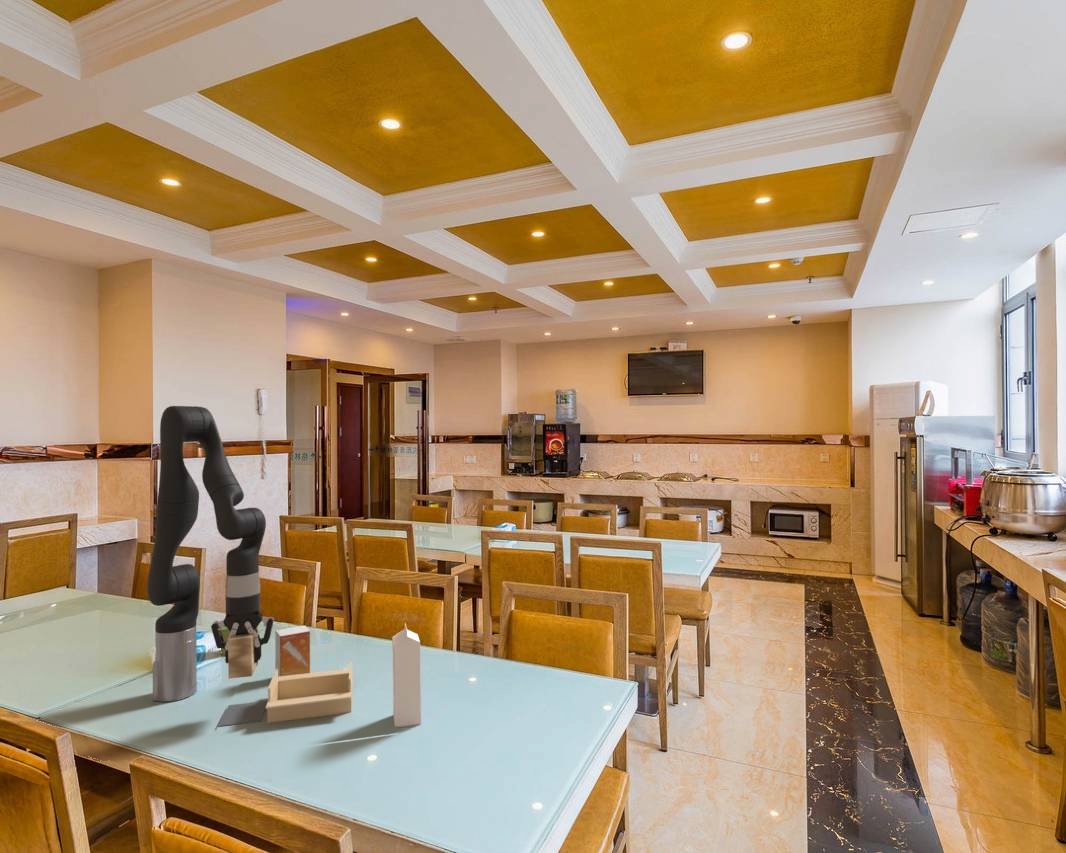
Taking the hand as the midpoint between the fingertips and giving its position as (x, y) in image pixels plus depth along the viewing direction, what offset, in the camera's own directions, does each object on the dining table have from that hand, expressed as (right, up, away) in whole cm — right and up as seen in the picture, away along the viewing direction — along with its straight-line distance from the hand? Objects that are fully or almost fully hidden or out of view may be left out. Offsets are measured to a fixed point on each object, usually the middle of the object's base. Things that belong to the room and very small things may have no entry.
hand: (243, 662), depth 145 cm
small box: (+3, -13, +22) cm, 26 cm away
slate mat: (0, -13, 0) cm, 13 cm away
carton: (+15, -12, +4) cm, 20 cm away
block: (0, -2, 0) cm, 2 cm away
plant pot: (-24, -14, +43) cm, 51 cm away
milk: (+40, -12, -4) cm, 42 cm away
